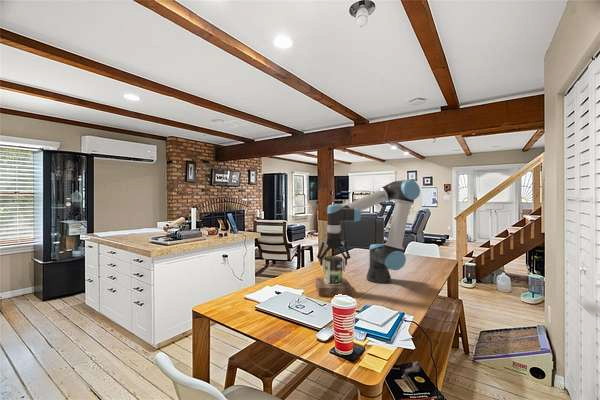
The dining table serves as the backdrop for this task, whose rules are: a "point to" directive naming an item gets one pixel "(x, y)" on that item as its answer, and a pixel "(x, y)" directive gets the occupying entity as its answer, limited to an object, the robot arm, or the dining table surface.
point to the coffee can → (333, 270)
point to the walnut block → (333, 288)
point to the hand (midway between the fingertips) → (333, 271)
